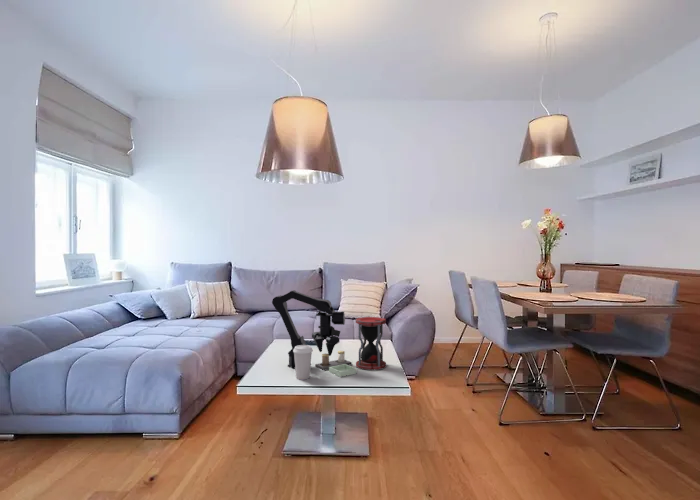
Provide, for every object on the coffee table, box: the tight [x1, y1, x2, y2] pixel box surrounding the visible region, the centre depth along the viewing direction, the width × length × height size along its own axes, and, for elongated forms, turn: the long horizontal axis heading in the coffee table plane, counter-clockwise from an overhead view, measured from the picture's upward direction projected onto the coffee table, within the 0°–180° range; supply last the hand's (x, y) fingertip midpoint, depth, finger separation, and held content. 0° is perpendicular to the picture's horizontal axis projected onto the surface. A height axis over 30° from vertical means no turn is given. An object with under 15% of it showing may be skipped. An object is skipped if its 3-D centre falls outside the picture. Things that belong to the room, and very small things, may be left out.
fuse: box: [337, 350, 346, 363], centre depth 223 cm, size 4×4×7 cm
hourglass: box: [355, 316, 387, 371], centre depth 220 cm, size 16×16×25 cm
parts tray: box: [328, 364, 357, 378], centre depth 208 cm, size 10×10×2 cm
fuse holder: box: [314, 359, 353, 371], centre depth 220 cm, size 18×8×1 cm, turn 126°
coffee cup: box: [293, 344, 313, 381], centre depth 201 cm, size 10×10×15 cm
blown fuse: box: [321, 353, 330, 367], centre depth 218 cm, size 4×4×7 cm
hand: (325, 353), depth 218 cm, fingers open, 9 cm apart
